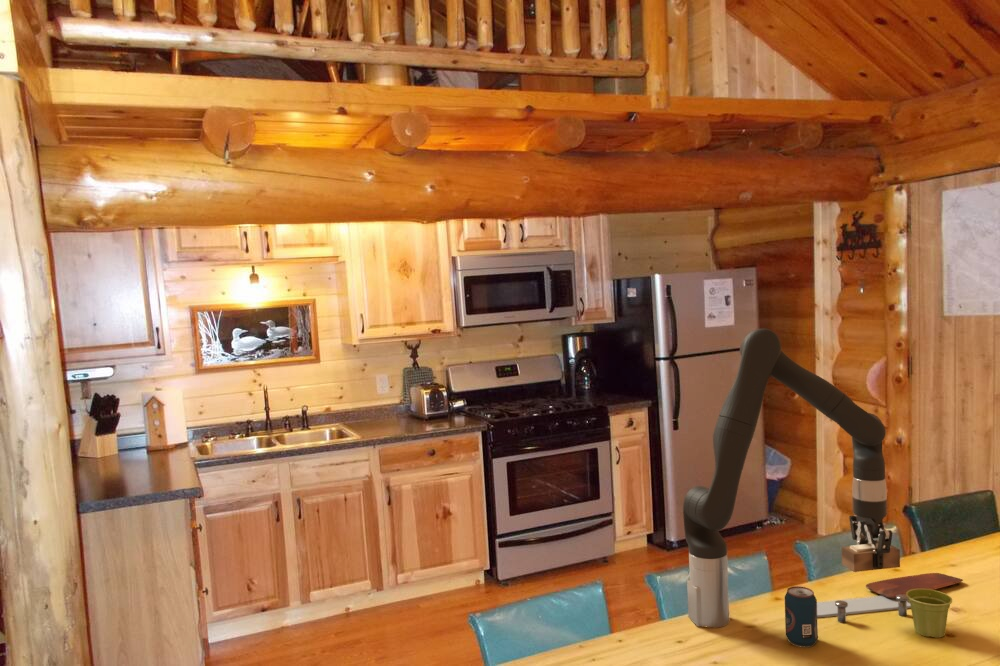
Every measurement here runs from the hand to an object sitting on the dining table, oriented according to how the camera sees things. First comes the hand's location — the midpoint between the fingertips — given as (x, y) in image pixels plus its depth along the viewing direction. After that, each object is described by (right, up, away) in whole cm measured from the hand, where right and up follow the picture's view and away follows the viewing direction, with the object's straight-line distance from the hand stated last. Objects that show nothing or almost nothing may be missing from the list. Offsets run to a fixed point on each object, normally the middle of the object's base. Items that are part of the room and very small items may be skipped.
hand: (870, 563), depth 181 cm
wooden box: (0, -1, 0) cm, 1 cm away
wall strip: (0, -13, +7) cm, 15 cm away
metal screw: (-7, -14, 0) cm, 16 cm away
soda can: (-21, -15, -9) cm, 27 cm away
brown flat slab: (+20, -12, +16) cm, 29 cm away
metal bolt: (+9, -13, +2) cm, 16 cm away
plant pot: (+10, -14, -8) cm, 19 cm away
